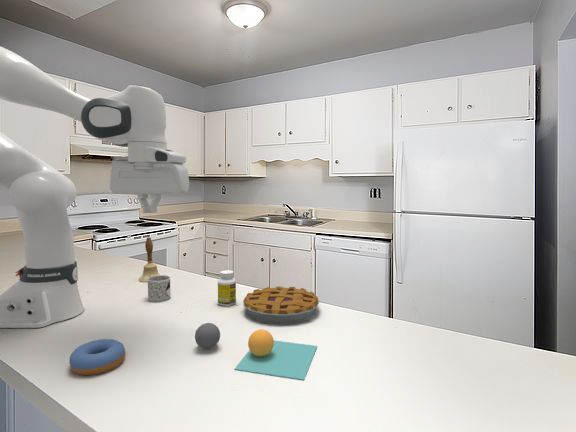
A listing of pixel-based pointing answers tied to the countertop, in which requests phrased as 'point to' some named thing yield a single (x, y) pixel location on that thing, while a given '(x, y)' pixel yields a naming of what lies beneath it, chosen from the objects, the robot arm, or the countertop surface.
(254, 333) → the ball
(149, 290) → the mug
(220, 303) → the supplement bottle
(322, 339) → the countertop surface
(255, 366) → the mark
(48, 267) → the robot arm
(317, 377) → the countertop surface
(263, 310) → the pie
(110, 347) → the doughnut
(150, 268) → the hand bell
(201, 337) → the ball
